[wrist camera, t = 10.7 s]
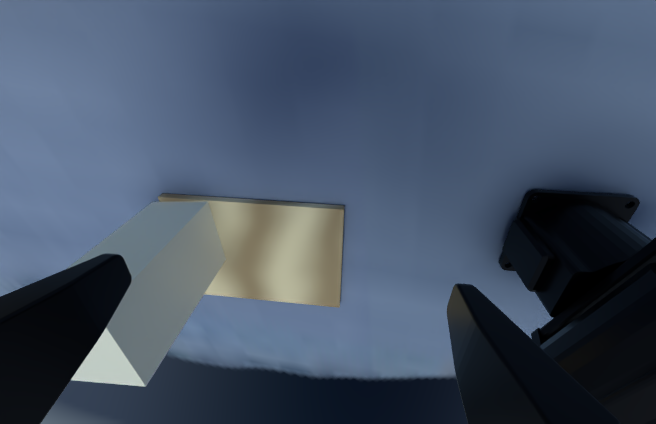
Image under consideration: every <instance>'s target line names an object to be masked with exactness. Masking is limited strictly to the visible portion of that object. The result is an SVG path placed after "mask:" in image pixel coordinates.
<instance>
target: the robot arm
mask: <svg viewBox="0 0 656 424" xmlns="http://www.w3.org/2000/svg"><path fill="white" fill-rule="evenodd" d="M535 196H538V197H537V198H536V199H534V200H532V198H533V197H535ZM628 202H629V203H628ZM627 203H628V204H627ZM639 203H640V202H639V200H638V199H637V198H635V197H634V196H632V195H622V194H605V193H588V192H571V191H554V190H537V189H536V190H531V191H529V192H528V193H527V194H526V195H525V198H524V200H523V203H522V205H521V208H520V210H519V213H518V215H517V218H516V219H515V220H514V221H513V223H512V225H511V228H510V231H509V233H508V236H507V238H506V241H505V243H504V246H503V253H502V255H501V258H500V260H499V264H500V266H501V268H502V269H504V270H509V271H516V272H517V273H518V275H519V277H520V278H521V280H522V282H523V283H524V285H525V286H526V288H527V289H528V290H529V291H532V292H535V293H536V294H537V296H538V298H539V299H540V301H541V302H542V304H543V305H544V307H545V308H546V310H547V311H548V313H549V315H550V316H551V317H553V319H552V320H551V321H550V322H548V323H547V324H546V325H544V326H543V327H542V328H541V329H540V328H538V329H536V330H535V331H534V332H533V333H531V336H532V339H531V338H530V337H529V336H527V335H526V334H525V333H524V332H523V331H522V330H521V329H520V328H519V327H518V326H517V325H516V324H515V323H513V322H512V321H511V320H510V319H509V318H508V317H507V316H506V315H505V314H504V313H503V312H502V311H501V310H499V309H498V308H497V307H496V306H495V305H494V304H493V303H492V302H491V301H490V300H489V299H488V298H487V297H485V296H484V295H483V294H482V293H481V292H480V291H479V290H478V289H477V288H476V287H474V286H473V285H470V284H455V285H454V287H453V290H452V293H451V296H450V299H449V303H448V306H447V318H448V325H449V332H450V339H451V346H452V353H453V359H454V366H455V372H456V377H457V381H458V386H459V390H460V393H461V398H462V401H463V405H464V409H465V413H466V417H467V421H468V424H656V238H654V239H653V240H651V239H650V238H649V237H647V236H646V235H644V234H643V233H642V232H640V231H639V230H638V229H636V228H635V227H633V226H632V225H631V224H629V223H628V222H629V220H630V218H631V217H632V215H633V214H634V212H635V211H636V209H637V207H638V206H639ZM626 204H627V205H626ZM508 262H509V263H508ZM506 263H508V264H506ZM131 281H132V276H131V274H130V271H129V269H128V267H127V264H126V262H125V260H124V258H123V257H122V256H121V255H119V254H110V253H105V254H102V255H99V256H97V257H94V258H92V259H90V260H87V261H85V262H82V263H80V264H78V265H75V266H73V267H70V268H68V269H66V270H63V271H61V272H58V273H56V274H54V275H51V276H49V277H46V278H44V279H42V280H39V281H37V282H35V283H32V284H30V285H27V286H25V287H23V288H20V289H18V290H15V291H13V292H11V293H8V294H6V295H3V296H1V297H0V424H40V423H41V422H42V421H43V419H44V418H45V416H46V415H47V413H48V412H49V410H50V409H51V407H52V406H53V405H54V403H55V402H56V400H57V399H58V397H59V396H60V394H61V393H62V392H63V390H64V389H65V387H66V386H67V384H68V383H69V382H70V380H71V379H72V377H73V376H74V374H75V373H76V371H77V370H78V369H79V367H80V366H81V364H82V363H83V361H84V360H85V359H86V357H87V356H88V354H89V353H90V351H91V350H92V348H93V347H94V346H95V344H96V343H97V341H98V340H99V338H100V337H101V335H102V333H103V332H104V330H105V328H106V327H107V325H108V323H109V322H110V320H111V318H112V316H113V314H114V313H115V311H116V309H117V307H118V306H119V304H120V302H121V300H122V299H123V297H124V295H125V293H126V292H127V290H128V288H129V286H130V284H131Z"/></svg>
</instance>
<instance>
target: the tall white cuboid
mask: <svg viewBox="0 0 656 424" xmlns="http://www.w3.org/2000/svg"><path fill="white" fill-rule="evenodd" d="M105 253H110V254H119V255H121V256H122V257H123V258H124V260H125V262H126V264H127V267H128V269H129V271H130V274H131V276H132V281H131V284H130V286H129V288H128V290H127V292H126V293H125V295H124V297H123V299H122V300H121V302H120V304H119V306H118V307H117V309H116V311H115V313H114V314H113V316H112V318H111V320H110V322H109V323H108V325H107V327H106V328H105V330H104V332H103V333H102V335H101V337H100V338H99V340H98V341H97V343H96V344H95V346H94V347H93V348H92V350H91V351H90V353H89V354H88V356H87V357H86V359H85V360H84V361H83V363H82V364H81V366H80V367H79V369H78V370H77V371H76V373H75V374H74V376H73V377H72V379H71V380H76V381H87V382H99V383H111V384H122V385H134V386H146V385H147V384H148V382H149V381H150V379H151V377H152V376H153V374H154V373H155V371H156V370H157V368H158V366H159V365H160V363H161V362H162V360H163V358H164V357H165V355H166V354H167V352H168V351H169V349H170V347H171V346H172V344H173V343H174V341H175V339H176V338H177V336H178V335H179V333H180V332H181V330H182V328H183V327H184V325H185V324H186V322H187V320H188V319H189V317H190V316H191V314H192V312H193V311H194V309H195V308H196V306H197V305H198V303H199V301H200V300H201V298H202V297H203V295H204V293H205V292H206V290H207V289H208V287H209V286H210V284H211V282H212V281H213V279H214V278H215V276H216V274H217V273H218V271H219V270H220V268H221V267H222V265H223V263H224V262H225V260H226V257H225V254H224V251H223V248H222V245H221V241H220V238H219V235H218V232H217V229H216V225H215V222H214V219H213V216H212V213H211V209H210V206H209V203H208V201H186V202H152V203H150V204H149V205H148V206H146V207H145V208H144V209H143V210H141V211H140V212H139V213H137V214H136V215H135V216H134V217H132V218H131V219H130V220H128V221H127V222H126V223H125V224H123V225H122V226H121V227H119V228H118V229H117V230H116V231H114V232H113V233H112V234H110V235H109V236H108V237H107V238H105V239H104V240H103V241H101V242H100V243H99V244H98V245H96V246H95V247H94V248H92V249H91V250H90V251H89V252H87V253H86V254H85V255H84V256H82V257H81V258H80V259H78V260H77V261H76V262H75V263H73V264H72V265H71V266H69V267H68V268H70V267H73V266H75V265H78V264H80V263H82V262H85V261H87V260H90V259H92V258H94V257H97V256H99V255H102V254H105ZM68 268H67V269H68Z"/></svg>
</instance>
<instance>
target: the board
mask: <svg viewBox="0 0 656 424" xmlns="http://www.w3.org/2000/svg"><path fill="white" fill-rule="evenodd" d="M158 199H159V202H186V201H208V203H209V206H210V209H211V213H212V216H213V219H214V222H215V225H216V229H217V232H218V235H219V238H220V241H221V245H222V248H223V251H224V254H225V257H226V260H225V262H224V263H223V265H222V267H221V268H220V270H219V271H218V273H217V274H216V276H215V278H214V279H213V281H212V282H211V284H210V286H209V287H208V289H207V290H206V292H205V293H204V294H208V295H218V296H228V297H238V298H249V299H259V300H269V301H279V302H289V303H299V304H309V305H319V306H329V307H340V292H341V270H342V248H343V227H344V206H343V205H328V204H313V203H298V202H284V201H269V200H254V199H239V198H224V197H209V196H194V195H179V194H164V193H162V194H161V195H160V196H159V197H158Z"/></svg>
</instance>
